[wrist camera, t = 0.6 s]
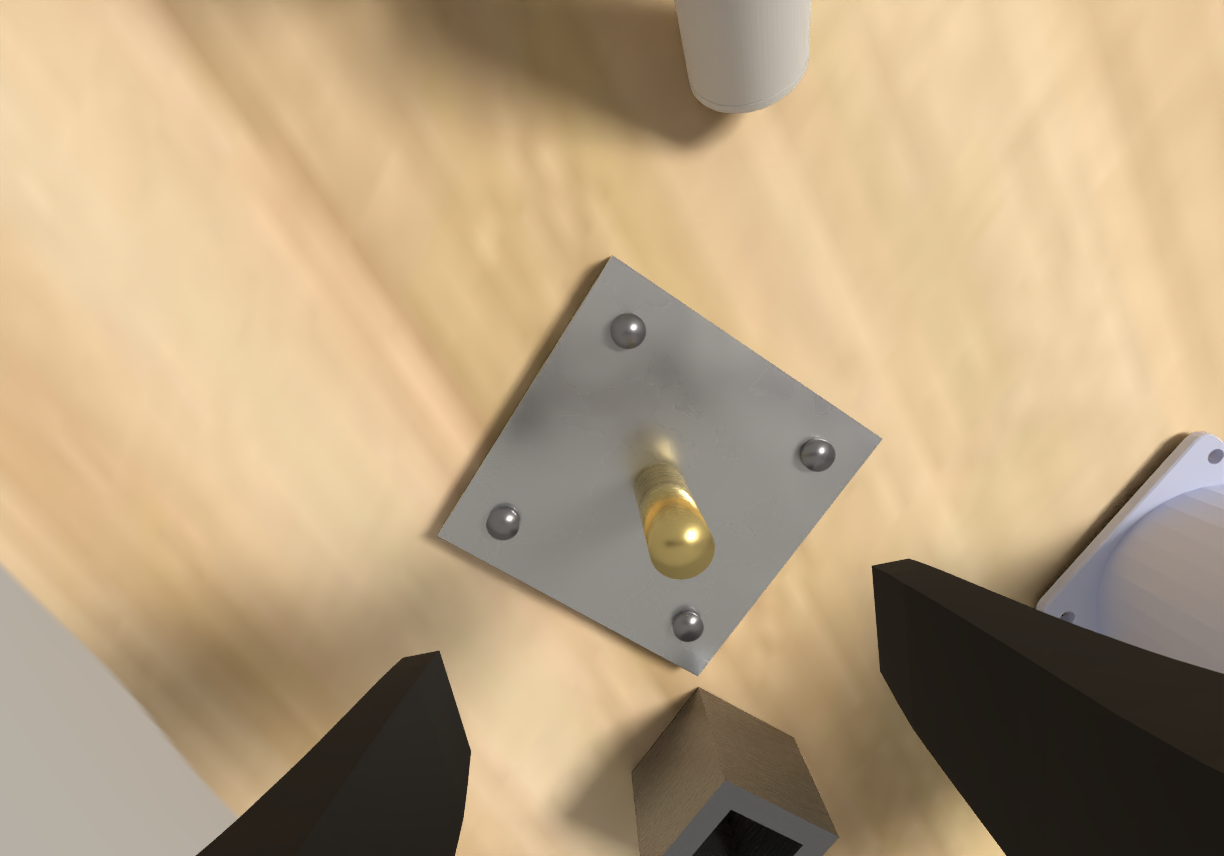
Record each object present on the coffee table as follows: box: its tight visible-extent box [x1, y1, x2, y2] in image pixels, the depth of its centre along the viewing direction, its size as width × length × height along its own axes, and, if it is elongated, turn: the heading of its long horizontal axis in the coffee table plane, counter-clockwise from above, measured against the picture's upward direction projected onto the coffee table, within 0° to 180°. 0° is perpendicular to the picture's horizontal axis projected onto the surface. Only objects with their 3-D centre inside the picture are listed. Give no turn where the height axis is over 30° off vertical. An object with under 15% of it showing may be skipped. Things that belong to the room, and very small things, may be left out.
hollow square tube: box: [632, 688, 839, 856], centre depth 20 cm, size 4×4×4 cm
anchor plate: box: [438, 255, 882, 676], centre depth 17 cm, size 10×10×5 cm
